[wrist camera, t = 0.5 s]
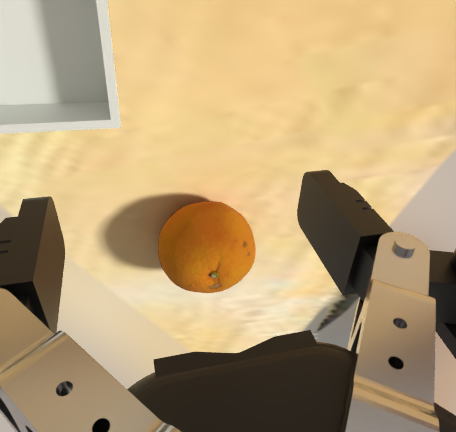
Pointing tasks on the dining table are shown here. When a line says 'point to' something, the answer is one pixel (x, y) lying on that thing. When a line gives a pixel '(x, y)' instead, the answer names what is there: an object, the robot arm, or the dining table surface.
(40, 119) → the tub
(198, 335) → the dining table surface
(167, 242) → the fruit
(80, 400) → the robot arm
